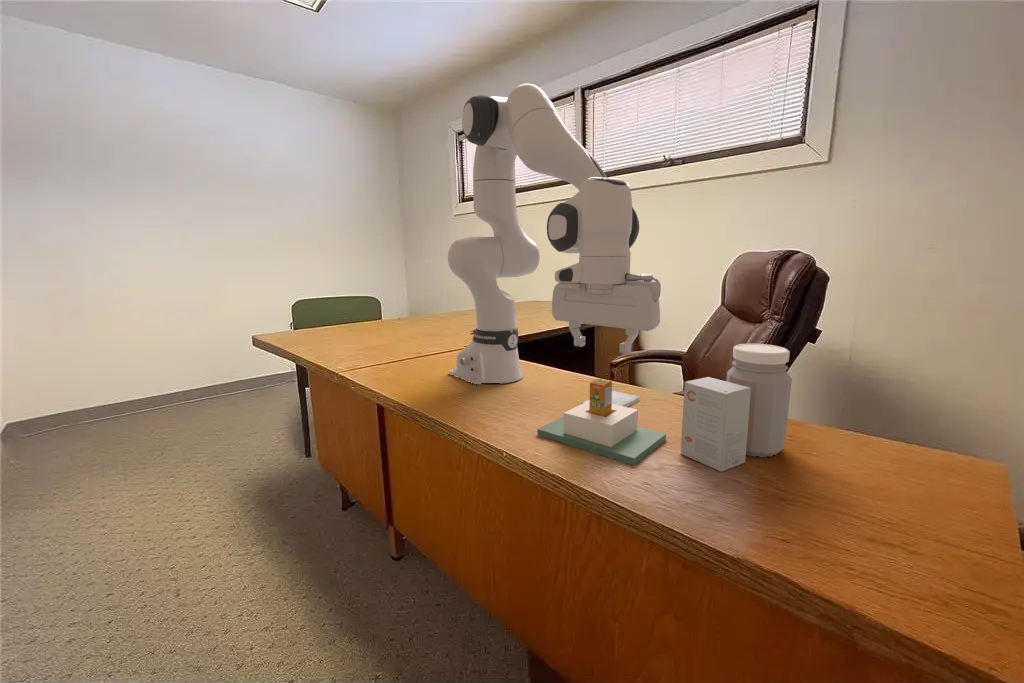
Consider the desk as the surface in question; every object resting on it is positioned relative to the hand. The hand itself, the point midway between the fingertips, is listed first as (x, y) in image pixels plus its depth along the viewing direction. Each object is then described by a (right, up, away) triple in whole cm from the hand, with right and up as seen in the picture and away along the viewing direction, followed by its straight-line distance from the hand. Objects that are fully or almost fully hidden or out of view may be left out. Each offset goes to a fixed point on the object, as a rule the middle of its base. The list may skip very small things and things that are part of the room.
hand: (601, 349), depth 82 cm
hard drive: (+7, -14, +22) cm, 27 cm away
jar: (+26, -18, -2) cm, 32 cm away
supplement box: (0, -16, +2) cm, 16 cm away
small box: (+17, -19, -6) cm, 26 cm away
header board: (0, -17, +3) cm, 17 cm away
